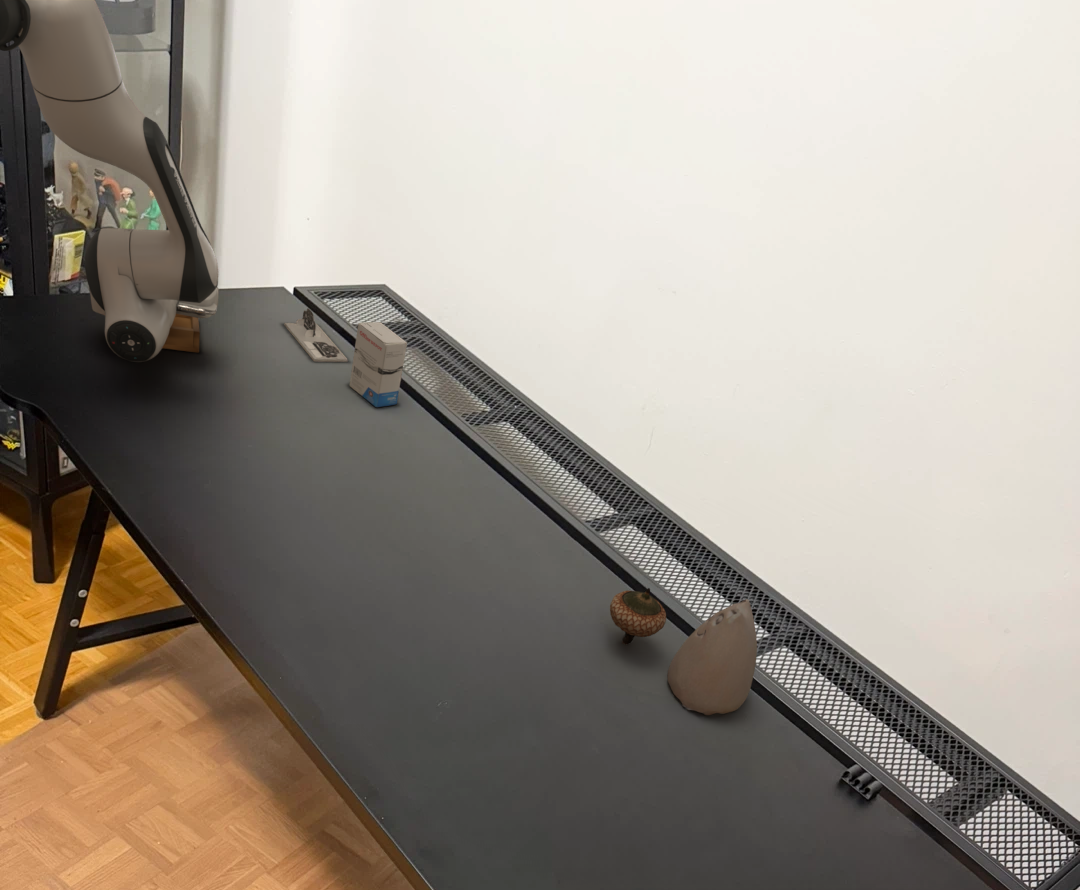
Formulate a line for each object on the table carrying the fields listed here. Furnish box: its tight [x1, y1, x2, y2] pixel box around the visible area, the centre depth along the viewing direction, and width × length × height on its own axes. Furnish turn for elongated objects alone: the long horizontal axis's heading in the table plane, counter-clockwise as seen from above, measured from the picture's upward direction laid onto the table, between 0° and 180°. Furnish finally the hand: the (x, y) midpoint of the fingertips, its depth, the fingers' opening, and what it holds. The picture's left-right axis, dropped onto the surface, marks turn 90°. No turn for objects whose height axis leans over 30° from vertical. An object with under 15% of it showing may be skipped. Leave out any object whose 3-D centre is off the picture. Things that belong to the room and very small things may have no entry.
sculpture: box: [667, 598, 758, 716], centre depth 138 cm, size 13×12×15 cm
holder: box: [162, 314, 201, 354], centre depth 179 cm, size 13×13×4 cm
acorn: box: [609, 587, 667, 646], centre depth 143 cm, size 8×8×10 cm
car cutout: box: [283, 308, 349, 363], centre depth 192 cm, size 15×7×4 cm, turn 31°
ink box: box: [348, 321, 408, 408], centre depth 179 cm, size 9×5×12 cm, turn 42°
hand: (161, 272), depth 174 cm, fingers closed on supplement bottle, 5 cm apart
